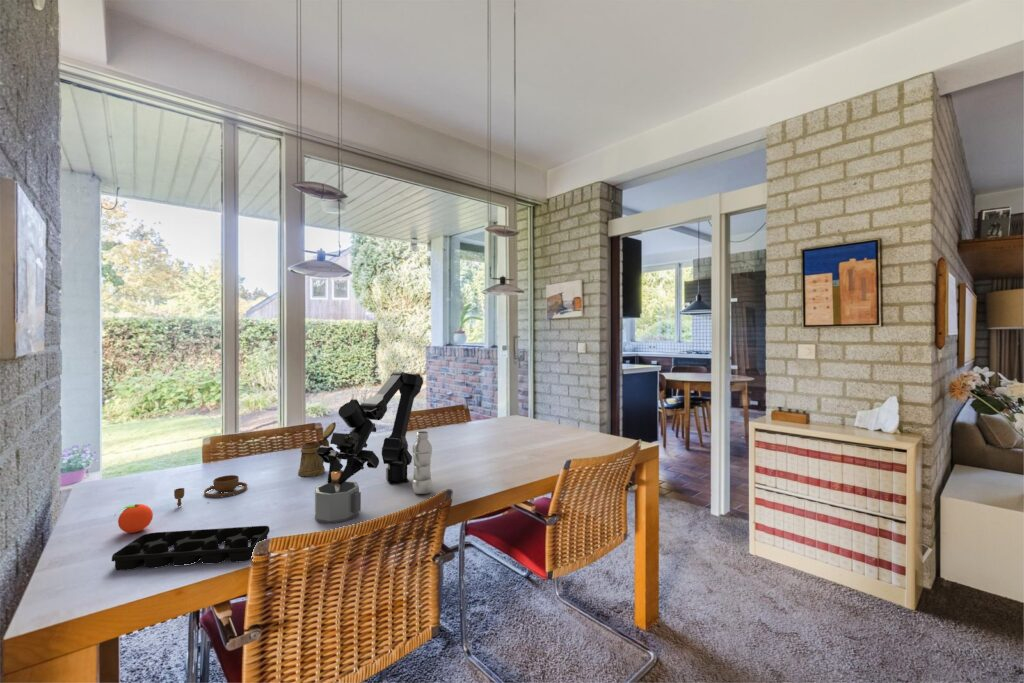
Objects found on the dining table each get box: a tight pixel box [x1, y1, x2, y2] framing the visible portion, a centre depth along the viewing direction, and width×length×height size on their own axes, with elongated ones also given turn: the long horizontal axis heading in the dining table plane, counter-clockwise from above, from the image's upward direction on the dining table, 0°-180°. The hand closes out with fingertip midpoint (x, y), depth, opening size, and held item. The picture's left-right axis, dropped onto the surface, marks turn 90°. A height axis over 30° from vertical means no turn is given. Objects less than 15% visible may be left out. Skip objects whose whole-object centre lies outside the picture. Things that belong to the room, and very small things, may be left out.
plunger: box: [331, 469, 344, 493], centre depth 126 cm, size 8×8×10 cm
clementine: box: [114, 503, 154, 534], centre depth 114 cm, size 8×7×7 cm
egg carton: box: [111, 525, 270, 571], centre depth 103 cm, size 18×30×4 cm, turn 112°
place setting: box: [173, 474, 248, 507], centre depth 142 cm, size 18×20×6 cm
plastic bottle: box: [411, 430, 433, 495], centre depth 144 cm, size 6×7×20 cm
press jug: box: [314, 480, 362, 524], centre depth 126 cm, size 12×13×8 cm
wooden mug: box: [297, 421, 337, 478], centre depth 166 cm, size 9×14×18 cm, turn 134°
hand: (333, 483), depth 125 cm, fingers closed on plunger, 3 cm apart
